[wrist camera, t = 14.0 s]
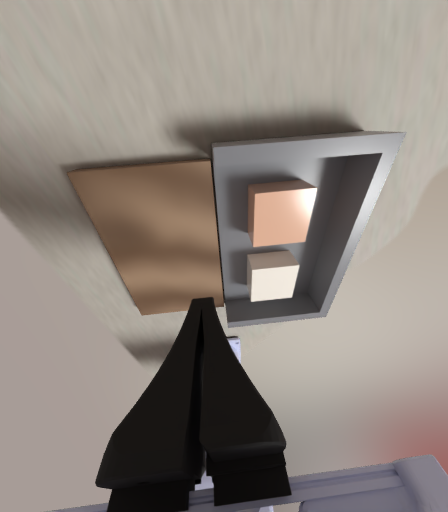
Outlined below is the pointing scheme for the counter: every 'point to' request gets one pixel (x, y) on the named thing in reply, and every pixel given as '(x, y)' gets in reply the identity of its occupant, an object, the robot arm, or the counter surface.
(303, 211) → the terracotta tile
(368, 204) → the tray
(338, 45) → the counter surface
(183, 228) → the walnut plate
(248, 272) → the cream tile
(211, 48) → the counter surface
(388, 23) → the counter surface
